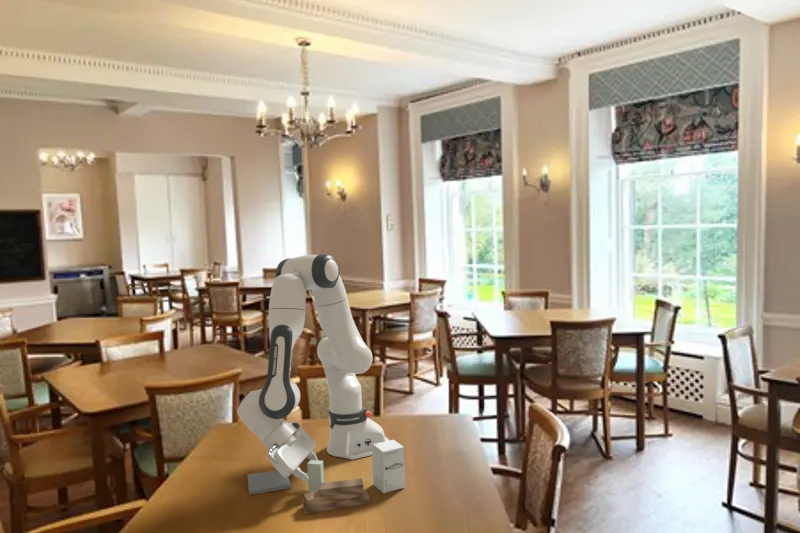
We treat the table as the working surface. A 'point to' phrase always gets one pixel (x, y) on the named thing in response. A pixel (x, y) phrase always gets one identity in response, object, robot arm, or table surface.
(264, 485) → the slate mat
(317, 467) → the tall block
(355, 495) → the offcut stack
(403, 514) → the table surface
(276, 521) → the table surface
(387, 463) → the supplement box
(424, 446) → the table surface
